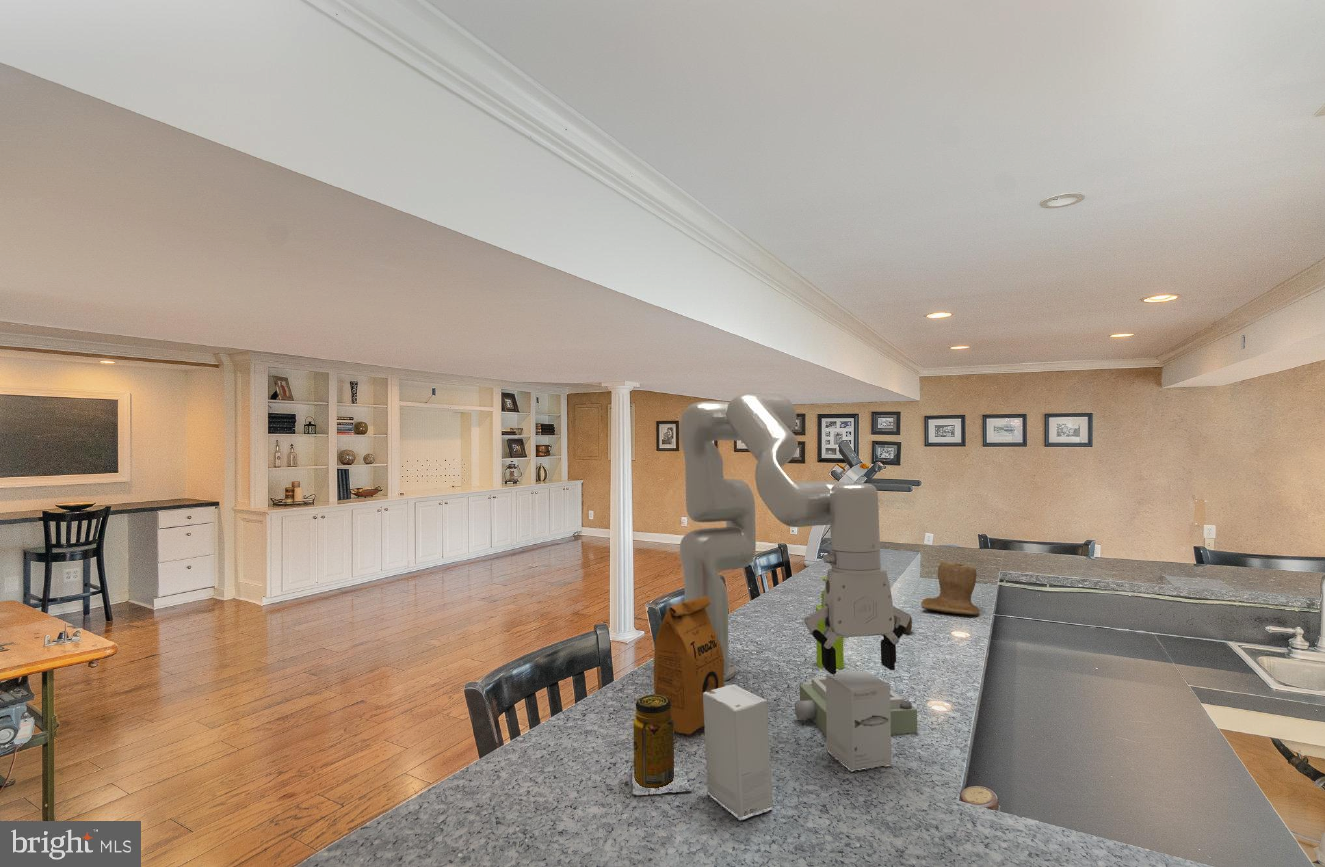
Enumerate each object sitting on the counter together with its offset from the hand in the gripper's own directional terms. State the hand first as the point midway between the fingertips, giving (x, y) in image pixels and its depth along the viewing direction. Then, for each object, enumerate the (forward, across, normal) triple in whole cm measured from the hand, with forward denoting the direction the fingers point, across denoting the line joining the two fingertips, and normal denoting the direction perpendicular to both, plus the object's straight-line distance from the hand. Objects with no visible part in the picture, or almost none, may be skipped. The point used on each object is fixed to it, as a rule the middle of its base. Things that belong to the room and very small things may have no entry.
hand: (859, 669), depth 98 cm
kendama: (+14, +35, +68) cm, 78 cm away
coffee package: (+14, -24, +18) cm, 33 cm away
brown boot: (+13, +66, +80) cm, 105 cm away
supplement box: (+14, 0, +1) cm, 14 cm away
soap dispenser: (+14, +13, +42) cm, 46 cm away
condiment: (+14, -32, -1) cm, 35 cm away
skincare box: (+14, -22, -8) cm, 28 cm away
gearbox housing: (+14, +4, +15) cm, 21 cm away
